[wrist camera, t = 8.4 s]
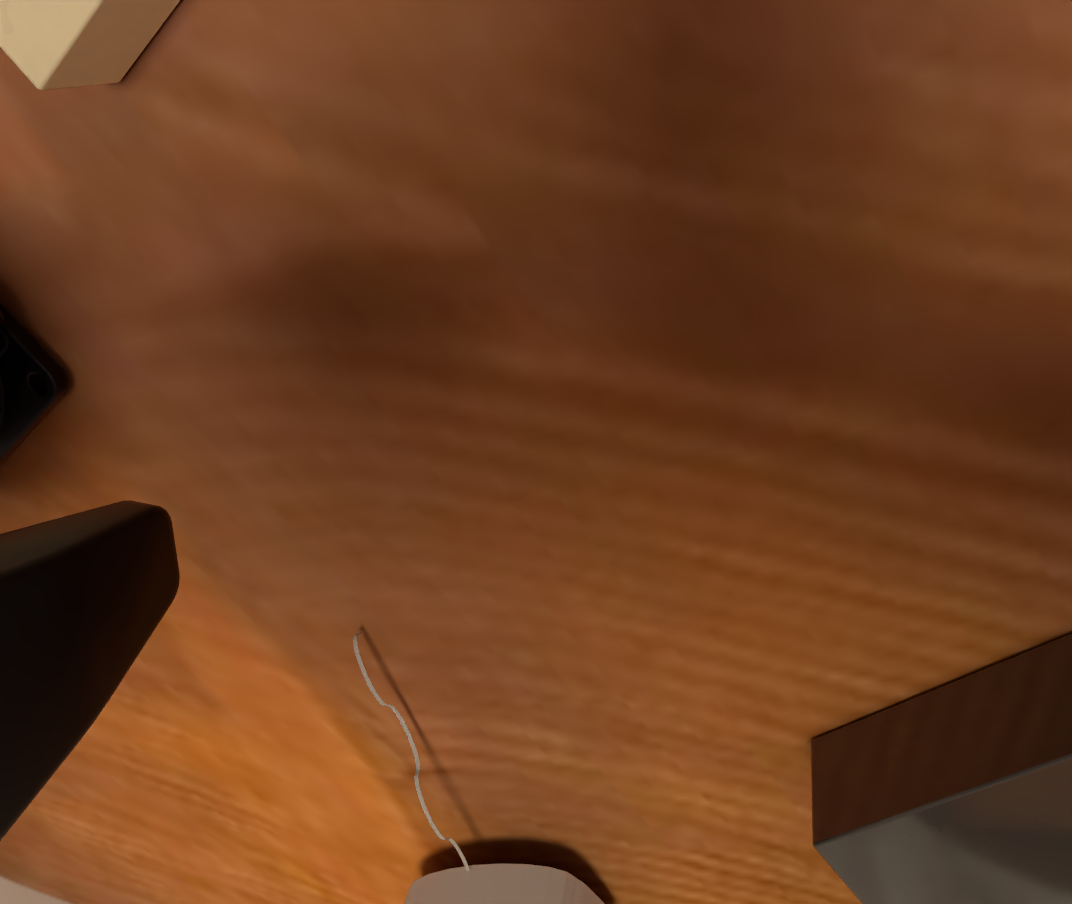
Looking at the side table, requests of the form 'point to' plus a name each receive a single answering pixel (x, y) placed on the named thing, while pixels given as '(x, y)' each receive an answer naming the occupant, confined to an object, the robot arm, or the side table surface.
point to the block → (78, 38)
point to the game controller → (488, 868)
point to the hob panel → (955, 790)
